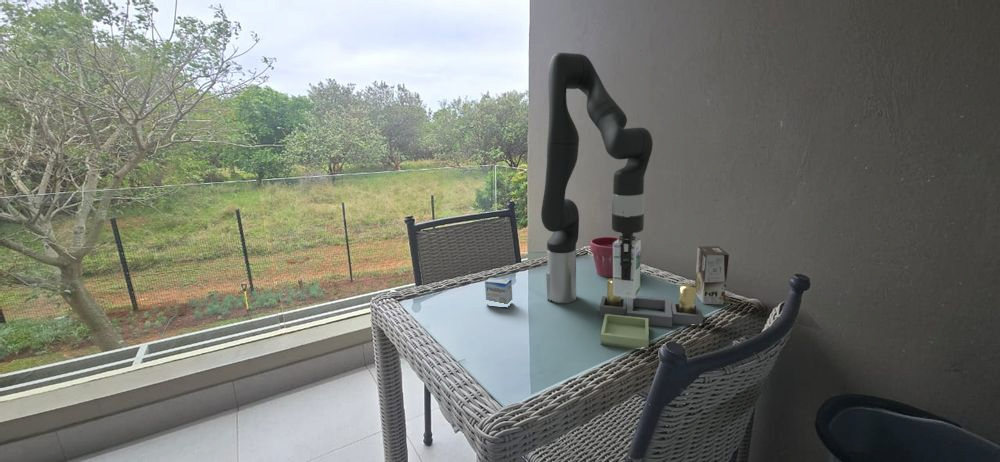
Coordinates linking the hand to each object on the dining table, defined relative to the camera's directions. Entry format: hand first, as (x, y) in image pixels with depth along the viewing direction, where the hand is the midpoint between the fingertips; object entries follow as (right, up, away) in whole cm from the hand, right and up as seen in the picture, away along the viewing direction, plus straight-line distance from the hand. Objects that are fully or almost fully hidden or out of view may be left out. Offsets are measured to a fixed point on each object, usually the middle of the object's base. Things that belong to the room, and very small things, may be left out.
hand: (626, 274), depth 98 cm
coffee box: (+34, -10, +23) cm, 42 cm away
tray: (+1, -17, +4) cm, 18 cm away
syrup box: (0, -5, +1) cm, 5 cm away
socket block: (+12, -14, +15) cm, 23 cm away
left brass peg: (+2, -13, +18) cm, 23 cm away
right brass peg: (+21, -14, +11) cm, 28 cm away
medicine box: (-33, -13, +28) cm, 45 cm away
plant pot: (+10, -5, +49) cm, 50 cm away
